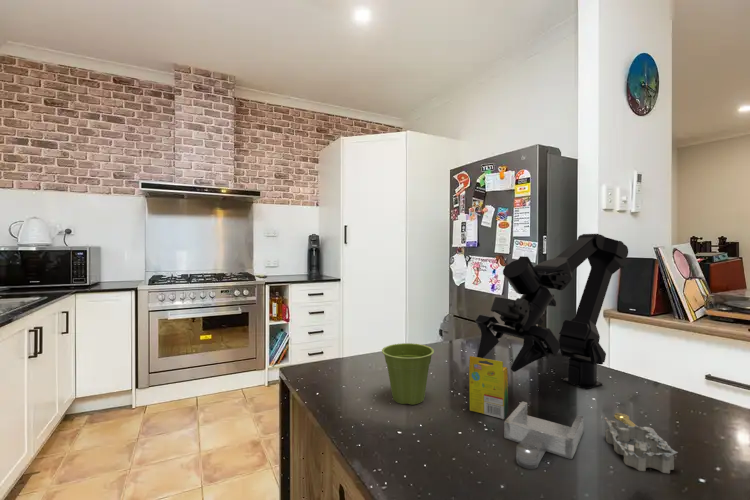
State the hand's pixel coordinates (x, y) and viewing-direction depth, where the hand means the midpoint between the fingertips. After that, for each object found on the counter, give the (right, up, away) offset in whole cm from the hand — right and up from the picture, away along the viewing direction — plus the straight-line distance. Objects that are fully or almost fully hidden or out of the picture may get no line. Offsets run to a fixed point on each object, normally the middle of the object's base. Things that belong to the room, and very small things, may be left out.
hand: (494, 364), depth 78 cm
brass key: (+24, -10, -7) cm, 27 cm away
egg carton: (+19, -10, -16) cm, 27 cm away
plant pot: (-18, -10, +6) cm, 21 cm away
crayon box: (-2, -10, -1) cm, 10 cm away
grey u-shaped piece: (+4, -10, -13) cm, 17 cm away
